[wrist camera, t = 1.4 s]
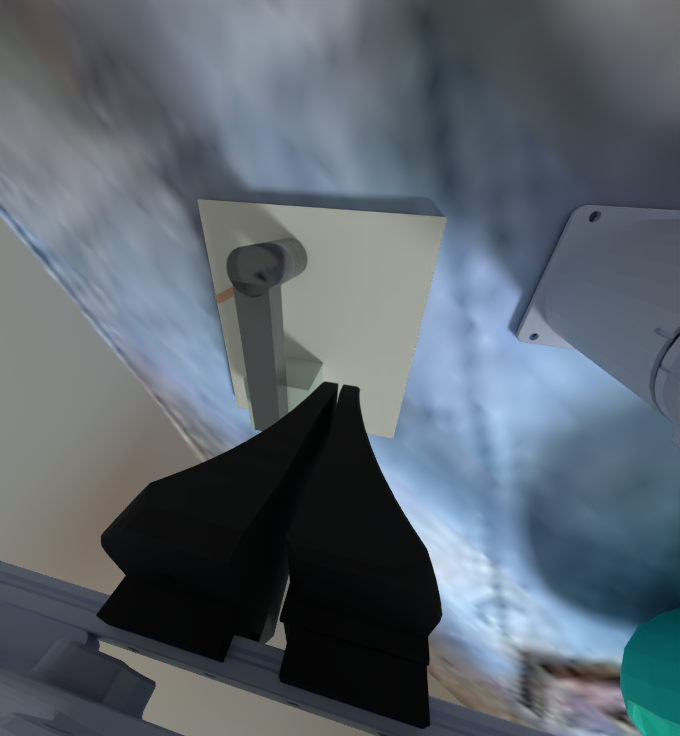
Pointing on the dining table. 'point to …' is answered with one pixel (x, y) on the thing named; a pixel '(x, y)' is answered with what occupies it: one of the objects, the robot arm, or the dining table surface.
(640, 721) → the table top decor
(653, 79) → the dining table surface
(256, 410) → the latch lever
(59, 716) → the robot arm
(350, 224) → the base plate
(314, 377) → the block
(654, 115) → the dining table surface
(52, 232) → the dining table surface
